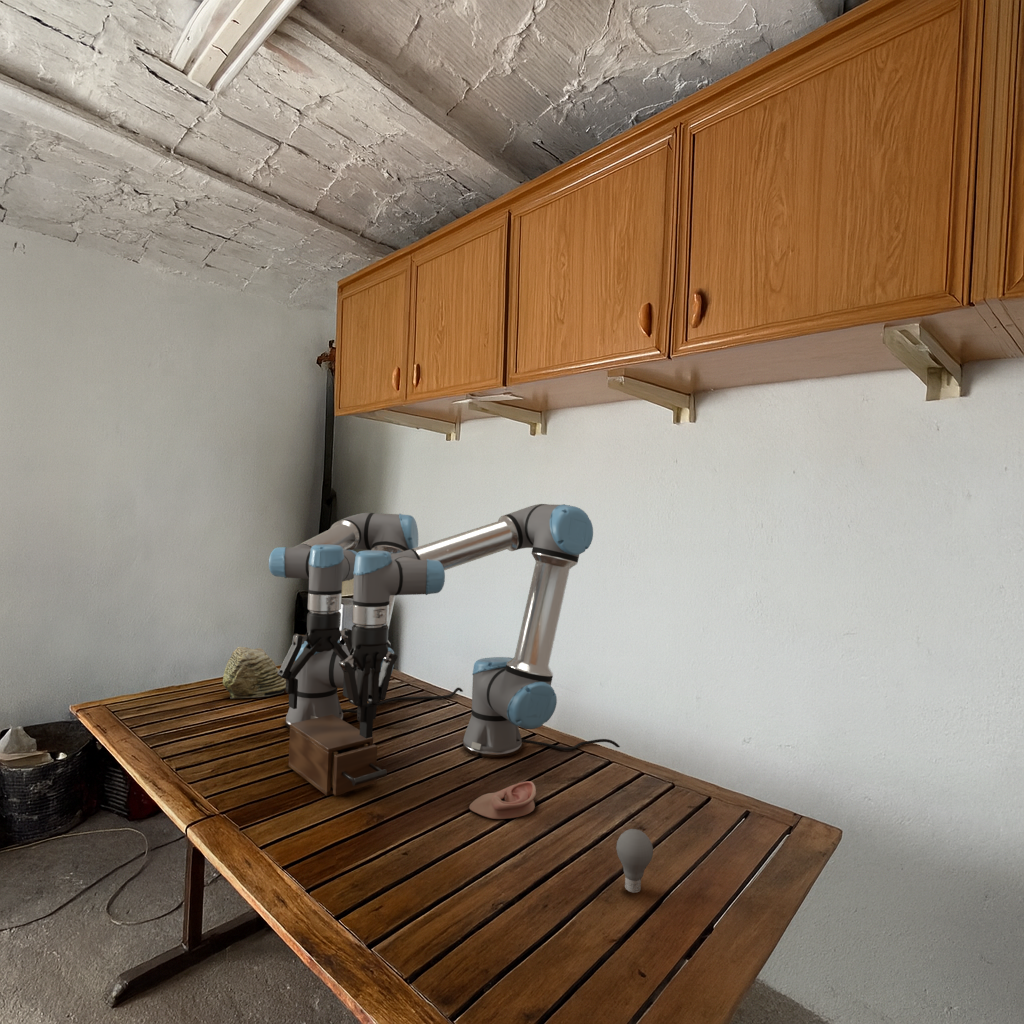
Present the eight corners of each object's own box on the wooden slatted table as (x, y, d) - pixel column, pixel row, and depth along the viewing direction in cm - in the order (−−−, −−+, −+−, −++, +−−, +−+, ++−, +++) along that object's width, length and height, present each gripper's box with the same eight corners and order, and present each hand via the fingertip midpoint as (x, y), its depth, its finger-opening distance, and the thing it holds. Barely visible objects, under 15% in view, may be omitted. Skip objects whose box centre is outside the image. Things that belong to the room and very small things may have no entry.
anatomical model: (465, 795, 128) (479, 772, 140) (464, 815, 128) (479, 790, 140) (530, 804, 126) (539, 780, 137) (529, 824, 126) (538, 798, 137)
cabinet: (371, 782, 142) (373, 737, 141) (326, 796, 134) (328, 749, 134) (331, 754, 155) (332, 714, 155) (288, 766, 148) (289, 723, 148)
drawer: (390, 792, 135) (392, 754, 135) (349, 806, 128) (351, 766, 128) (336, 756, 152) (337, 722, 152) (298, 767, 145) (299, 731, 145)
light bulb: (610, 879, 108) (613, 822, 108) (644, 879, 109) (647, 822, 109) (619, 902, 102) (622, 840, 102) (655, 901, 103) (658, 840, 103)
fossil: (218, 695, 195) (220, 647, 195) (278, 685, 208) (279, 640, 207) (228, 703, 189) (230, 653, 188) (289, 692, 201) (290, 645, 201)
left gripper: (278, 618, 136) (274, 716, 137) (379, 609, 154) (375, 696, 154) (264, 613, 142) (261, 707, 142) (363, 604, 159) (359, 688, 159)
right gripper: (351, 631, 126) (346, 748, 126) (406, 624, 135) (402, 734, 135) (333, 624, 131) (328, 737, 132) (387, 618, 140) (383, 724, 141)
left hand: (320, 701), depth 148 cm, fingers open, 13 cm apart
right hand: (365, 735), depth 133 cm, fingers closed
